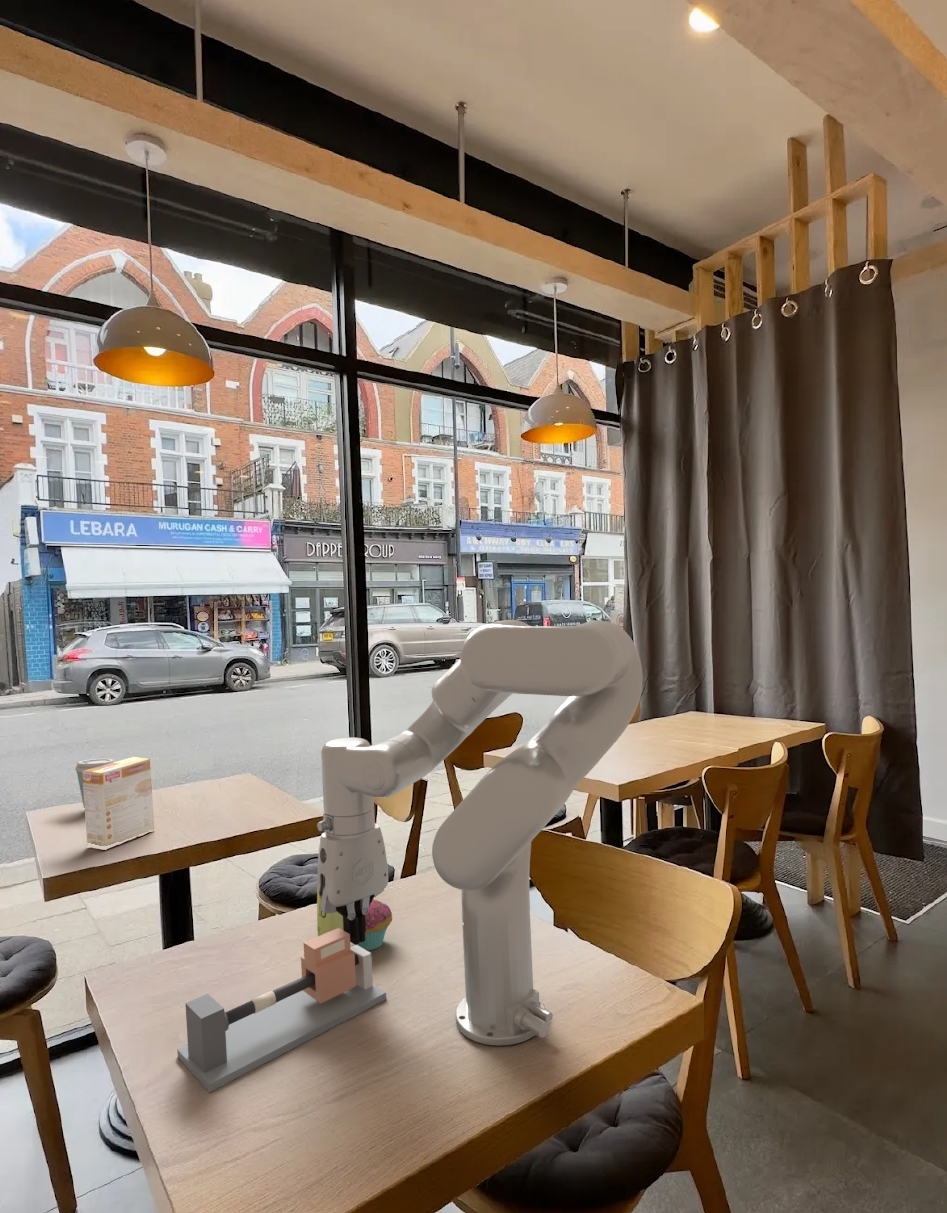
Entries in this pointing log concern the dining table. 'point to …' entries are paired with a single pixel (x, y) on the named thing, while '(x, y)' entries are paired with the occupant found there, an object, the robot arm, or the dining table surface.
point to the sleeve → (329, 964)
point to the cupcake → (376, 925)
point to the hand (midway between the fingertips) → (355, 940)
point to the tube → (327, 918)
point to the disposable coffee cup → (86, 766)
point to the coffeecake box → (118, 801)
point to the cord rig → (268, 1024)
